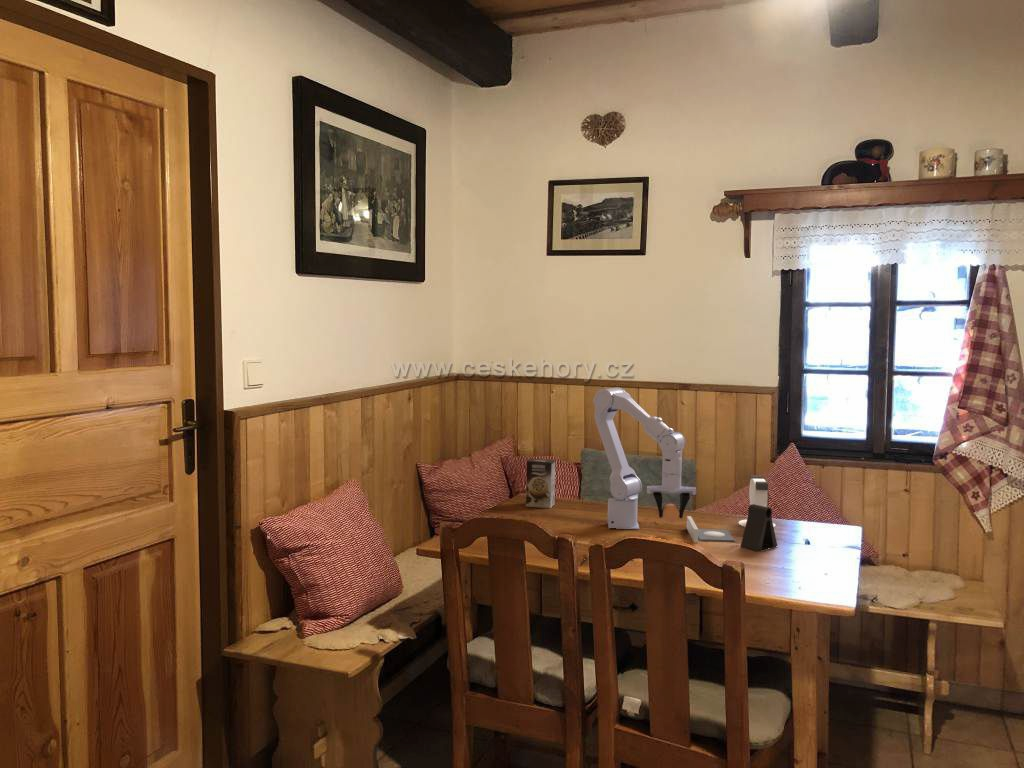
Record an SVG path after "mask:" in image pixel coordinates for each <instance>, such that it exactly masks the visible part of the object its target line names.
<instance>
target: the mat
mask: <svg viewBox="0 0 1024 768" xmlns="http://www.w3.org/2000/svg"><path fill="white" fill-rule="evenodd" d="M698 541H700V542H729V543H730V542H731V543H733V542H735V539H734V538H733V536H732V534H731V533H730V531H729V530H728V529H719V528H718V529H715V528H713V529H710V528H709V529H707V528H698Z"/></svg>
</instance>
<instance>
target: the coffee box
mask: <svg viewBox="0 0 1024 768" xmlns="http://www.w3.org/2000/svg"><path fill="white" fill-rule="evenodd" d="M525 475H526V477H525V478H526V479H525V480H526V484H525V485H526V487H525V507H527V508H528V507H529V508H539V509H540V508H541V509H542V508H543V509H552V506H553V505H554V506H555V492H556V491H555V490H556V487H555V486H556V484H555V483H556V482H555V481H556V478H555V477H556V459H545V458H544V459H543V458H532V457H531V458H530V459H528V460H526V474H525Z"/></svg>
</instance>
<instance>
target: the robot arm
mask: <svg viewBox="0 0 1024 768" xmlns="http://www.w3.org/2000/svg"><path fill="white" fill-rule="evenodd" d="M592 402H593V405H594V415H593V416H594V421H595V424H596V429H597V431H598V434H599V436H600V440H601V442H602V445H603V448H604V452H605V454H606V458H607V461H608V464H609V466H610V469H611V472H610V476H609V477H608V478H609V482H610V487H609V489H610V492H611V493H610V494H611V495H612V497H613V498H610V497H608V500H607V515H606V522H607V528H608V529H610V528H616V529H617V530H620V529H621V530H623V529H624V530H640V525H639V522H638V502H639V501H638V498H639V494H640V493H641V492H642V488H643V484H642V481H641V479H640V478H639V477H638V475H637V474H636V471H635V469H633V468H632V467H630V465H629V463H628V460H627V456H626V453H625V452H624V448H623V446H622V443H621V440H620V437H619V433H618V431H617V428H616V425H615V422H614V418H615V416H616V414H617V412H618V411H619V410H620V411H621V410H622V411H625V412H626V413H627V414H629V415H630V416H631V417H633V418H634V420H636V421H638V422H639V423H640V424H641V425H643V427H642V428H643V431H644V432H645V433H646V434H647V435H648V436H649V437H651V438H652V439H653V440H654V441H655V442H657V444H658V446H659V448H660V450H661V453H662V454H661V456H662V471H661V485H647V486H646V494H652V495H653V497H654V500H655V503H656V506H657V511H658V516H659V518H662V519H663V517H662V509H663V495H662V494H665V495H666V494H668V495H669V494H670V495H672V494H673V495H675V494H677V495H679V510H680V516H679V519H683V516H684V512H685V509H686V507H687V504H688V502H689V501H690V499H691V495H693V496H694V495H695V496H696V495H697V488H696V486H695V487H694V486H683V485H682V471H683V470H682V469H683V467H682V465H683V461H682V460H683V459H682V458H683V449H684V448H685V447H686V442H687V441H686V438H685V436H684V435H683V434H682V433H681V432H680V431H679V432H678V431H674V429H673V428H672V427H669V426H668V425H667V424H666V423H664V422H663V419H662V417H657V416H655V415H654V416H651V415H650V414H649V413H647V412H646V410H645V409H643V407H641V406H640V405H639V404H638V403H637V401H635V400H634V399H633V398H632V396H631V395H630V393H628V392H627V391H626V390H624V388H622V387H619V386H616V387H611V388H600V389H598V390H597V391H596V393H595V395H594V397H593V399H592Z"/></svg>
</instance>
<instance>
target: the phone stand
mask: <svg viewBox="0 0 1024 768" xmlns="http://www.w3.org/2000/svg"><path fill="white" fill-rule="evenodd" d="M747 511H748V512H747V513H748V514H747V515H748V516H747V519H746V520H747V522H746V526H745V527H744V530H743V535H742V539H741V542H740V548H743V549H747V550H750V551H753V550H754V551H753V552H758V551H760V552H762V551H761V550H764V551H766V550H765V549H767V550H769V549H768V548H772V547H776V546H777V547H778V542H777V537H776V532H775V528H774V527H773V523H774V522H773V518H772V516H773V510H772V508H770V507H768V506H767V507H763V506H759V505H755V504H753V505H750V504H749V506H748V510H747ZM777 547H776V548H777ZM772 549H773V548H772ZM758 553H759V552H758Z"/></svg>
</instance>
